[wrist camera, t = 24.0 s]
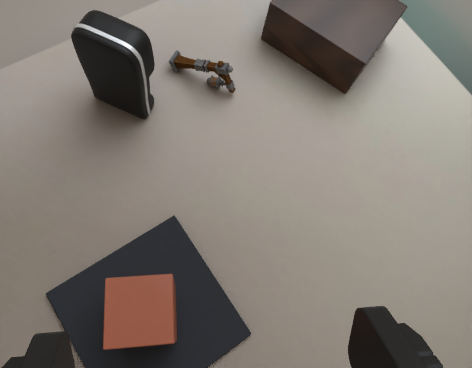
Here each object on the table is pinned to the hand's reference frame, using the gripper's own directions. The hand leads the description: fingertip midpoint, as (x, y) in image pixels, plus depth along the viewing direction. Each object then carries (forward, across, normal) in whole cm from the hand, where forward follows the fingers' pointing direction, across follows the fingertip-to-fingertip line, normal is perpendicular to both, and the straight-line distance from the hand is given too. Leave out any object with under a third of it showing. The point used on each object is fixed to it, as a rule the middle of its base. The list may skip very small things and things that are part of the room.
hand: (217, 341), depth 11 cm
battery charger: (+39, +7, +2) cm, 39 cm away
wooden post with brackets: (+41, -2, 0) cm, 41 cm away
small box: (+21, +4, +18) cm, 29 cm away
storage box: (+45, -18, -4) cm, 49 cm away
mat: (+22, +4, +19) cm, 29 cm away
